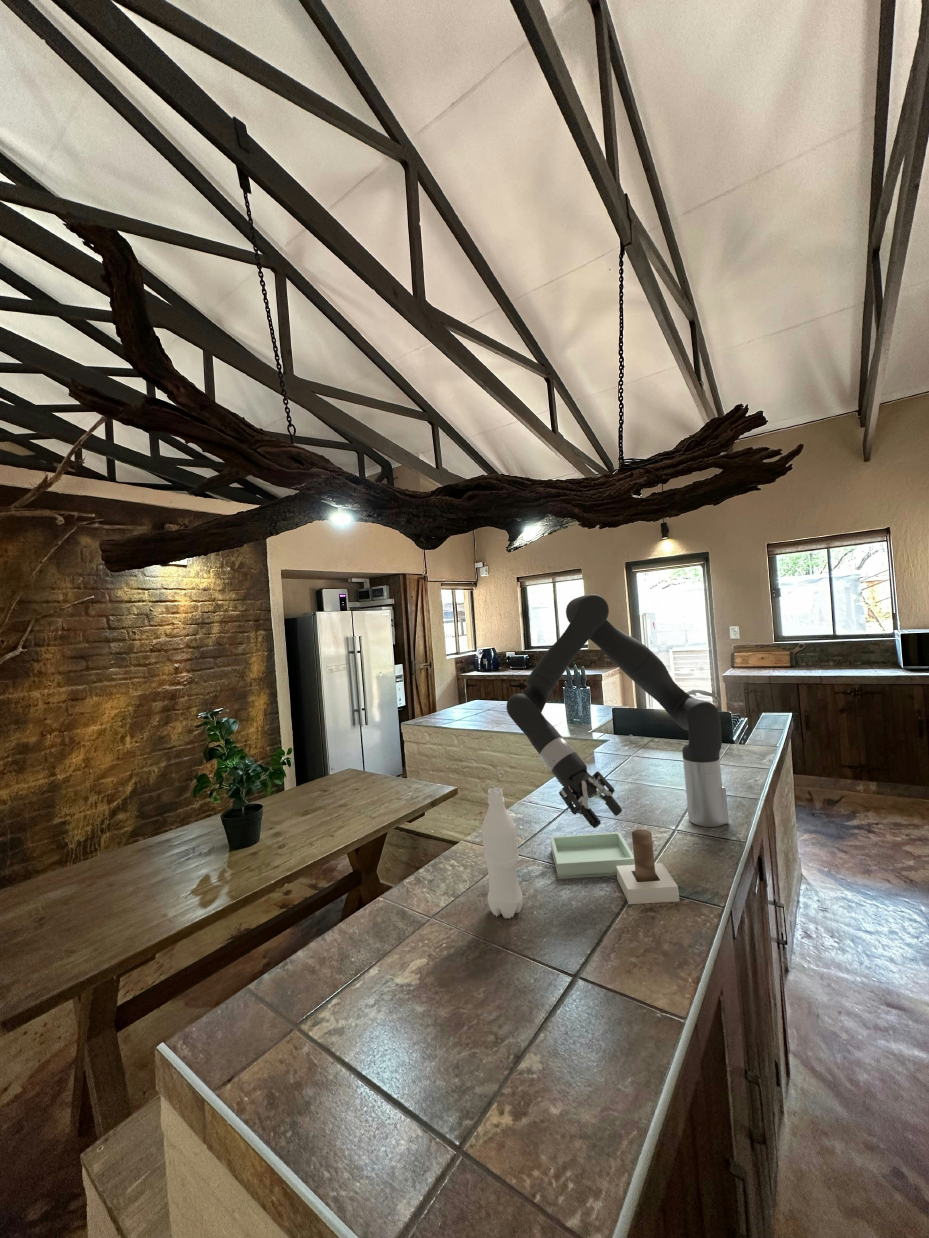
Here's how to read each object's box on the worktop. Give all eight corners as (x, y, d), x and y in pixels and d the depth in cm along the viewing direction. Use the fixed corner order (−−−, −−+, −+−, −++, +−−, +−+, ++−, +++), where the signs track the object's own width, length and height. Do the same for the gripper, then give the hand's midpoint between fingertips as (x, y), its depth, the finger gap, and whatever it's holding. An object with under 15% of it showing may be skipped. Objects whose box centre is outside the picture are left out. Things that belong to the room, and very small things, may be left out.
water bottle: (483, 917, 103) (471, 794, 104) (497, 899, 110) (486, 783, 110) (515, 924, 100) (504, 797, 100) (528, 905, 106) (517, 785, 107)
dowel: (653, 884, 110) (648, 828, 110) (659, 894, 106) (654, 836, 106) (634, 885, 110) (629, 830, 110) (640, 895, 106) (634, 837, 106)
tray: (620, 845, 130) (619, 832, 130) (637, 874, 115) (635, 858, 115) (551, 850, 131) (550, 836, 131) (558, 879, 116) (557, 863, 116)
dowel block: (663, 876, 113) (661, 862, 113) (679, 901, 103) (678, 886, 103) (617, 879, 114) (616, 865, 114) (629, 904, 104) (627, 889, 104)
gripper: (552, 758, 116) (600, 820, 108) (588, 744, 126) (635, 800, 117) (536, 778, 120) (581, 839, 111) (572, 763, 130) (617, 818, 121)
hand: (608, 819), depth 114 cm, fingers open, 8 cm apart
